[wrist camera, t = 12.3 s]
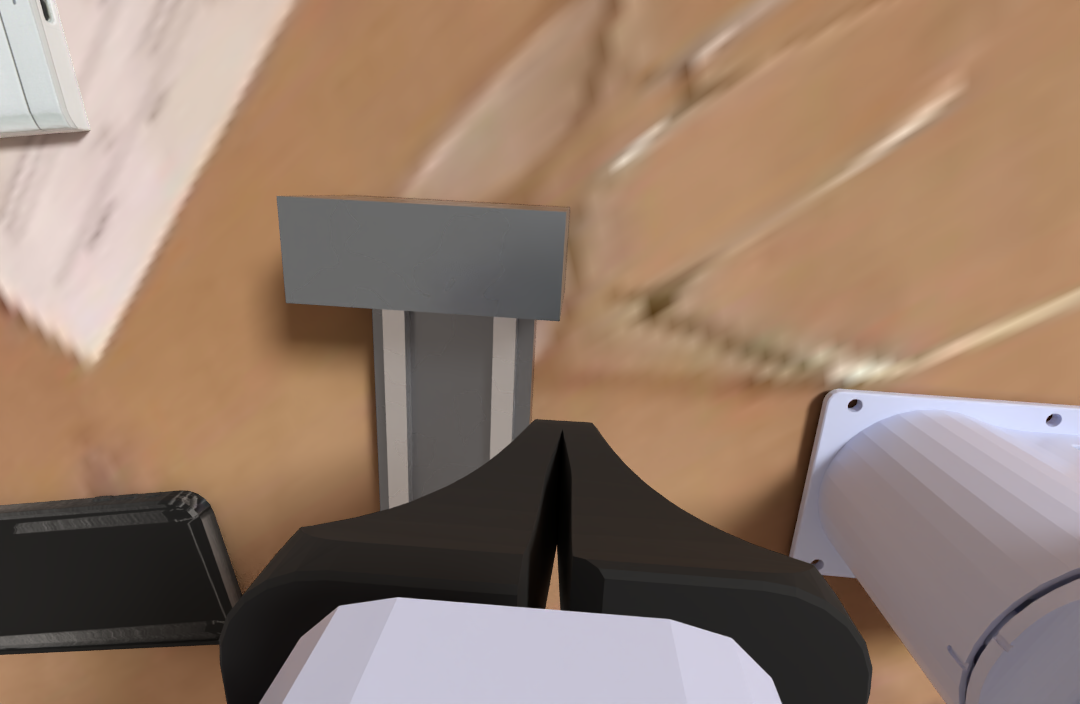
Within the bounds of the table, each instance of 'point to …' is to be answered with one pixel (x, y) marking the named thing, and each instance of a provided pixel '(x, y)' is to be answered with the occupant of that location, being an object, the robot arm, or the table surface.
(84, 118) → the hard drive
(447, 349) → the rail base
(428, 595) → the robot arm
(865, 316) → the table surface
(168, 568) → the phone
